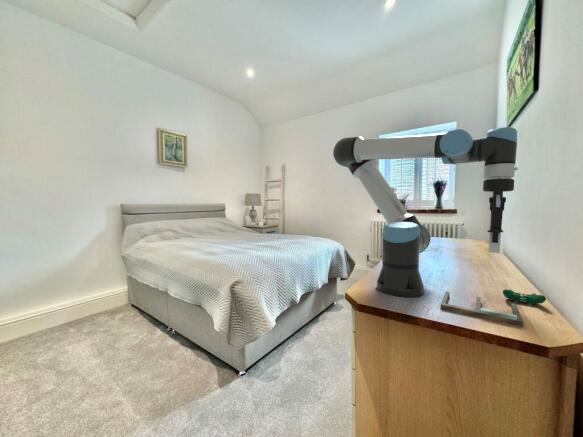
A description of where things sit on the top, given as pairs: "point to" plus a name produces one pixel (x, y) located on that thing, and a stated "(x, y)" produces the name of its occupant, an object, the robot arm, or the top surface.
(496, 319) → the letter e shape
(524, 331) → the top surface
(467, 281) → the top surface
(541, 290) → the top surface
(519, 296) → the gaming controller
